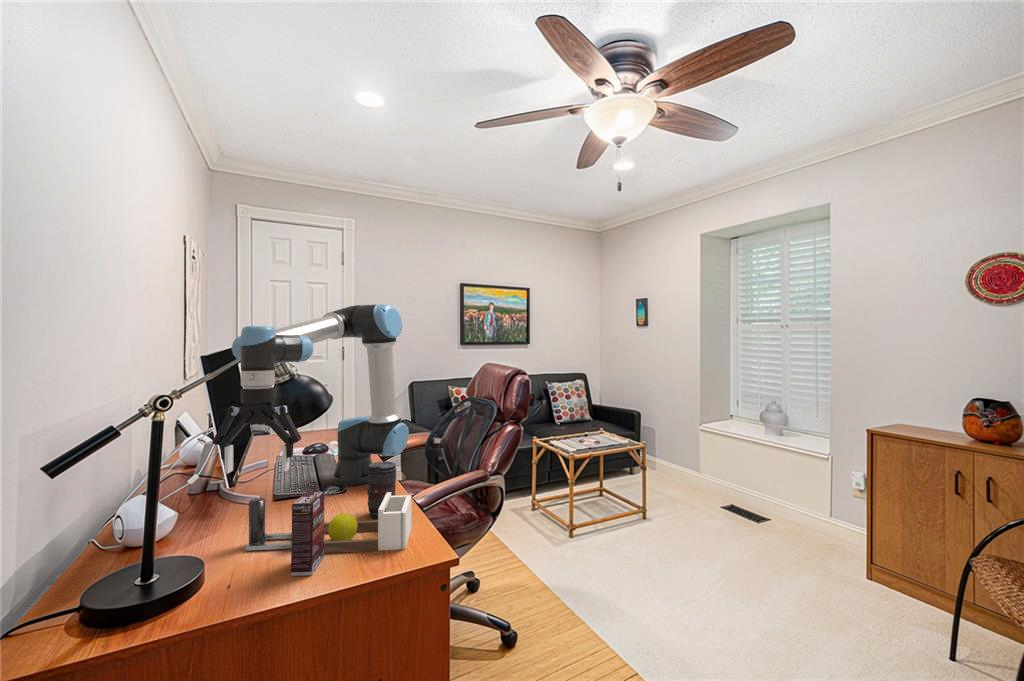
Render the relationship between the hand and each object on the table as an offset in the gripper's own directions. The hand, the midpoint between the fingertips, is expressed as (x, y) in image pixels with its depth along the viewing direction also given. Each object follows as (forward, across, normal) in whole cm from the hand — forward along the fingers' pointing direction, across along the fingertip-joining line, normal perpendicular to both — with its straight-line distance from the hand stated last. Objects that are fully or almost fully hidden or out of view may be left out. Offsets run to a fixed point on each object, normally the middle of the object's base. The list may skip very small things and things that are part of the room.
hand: (257, 471), depth 115 cm
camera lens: (+19, +28, +17) cm, 38 cm away
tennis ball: (+19, +21, 0) cm, 28 cm away
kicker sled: (+18, +5, 0) cm, 19 cm away
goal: (+19, +34, 0) cm, 39 cm away
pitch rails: (+19, +22, 0) cm, 29 cm away
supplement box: (+19, +16, -13) cm, 28 cm away
